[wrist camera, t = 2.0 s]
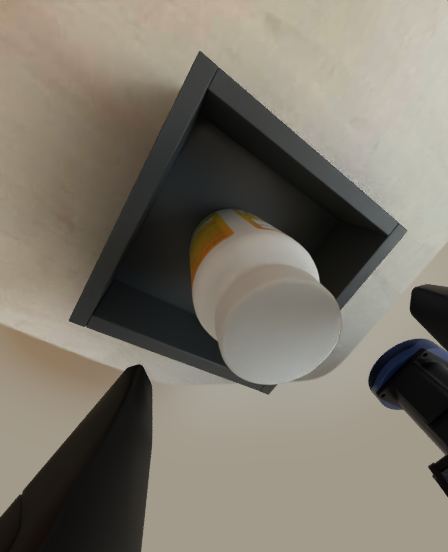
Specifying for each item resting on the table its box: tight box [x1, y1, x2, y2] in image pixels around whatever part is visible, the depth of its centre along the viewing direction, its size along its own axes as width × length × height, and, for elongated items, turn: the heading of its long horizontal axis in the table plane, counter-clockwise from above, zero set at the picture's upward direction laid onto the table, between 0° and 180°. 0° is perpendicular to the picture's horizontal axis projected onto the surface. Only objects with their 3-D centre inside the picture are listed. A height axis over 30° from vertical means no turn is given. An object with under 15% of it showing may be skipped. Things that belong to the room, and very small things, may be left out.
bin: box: [69, 51, 407, 394], centre depth 14 cm, size 13×13×5 cm
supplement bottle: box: [189, 209, 342, 385], centre depth 12 cm, size 5×5×10 cm
